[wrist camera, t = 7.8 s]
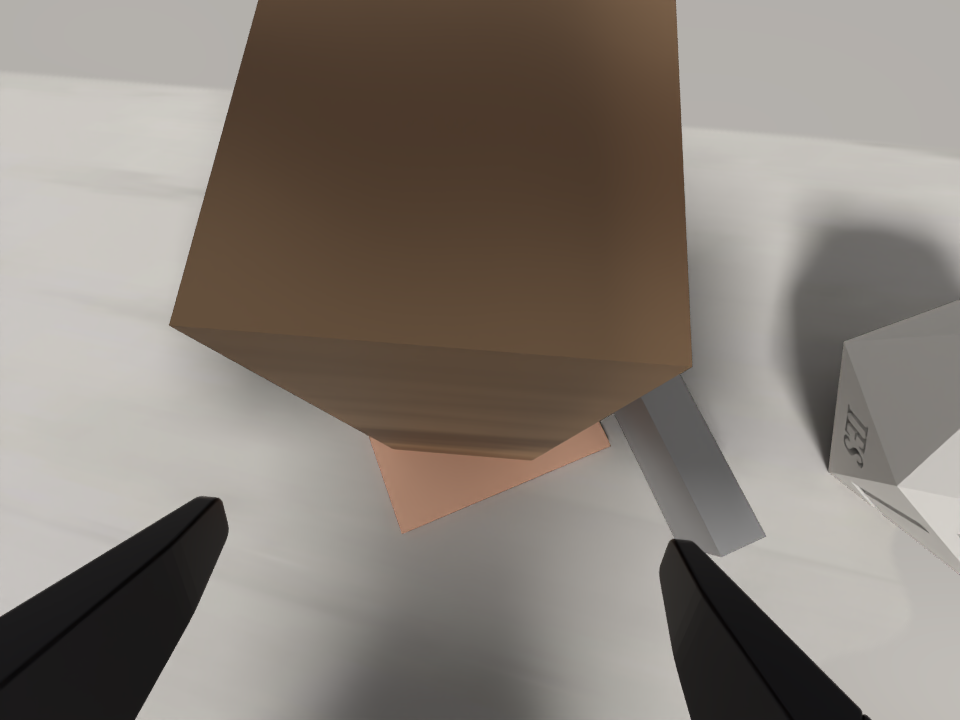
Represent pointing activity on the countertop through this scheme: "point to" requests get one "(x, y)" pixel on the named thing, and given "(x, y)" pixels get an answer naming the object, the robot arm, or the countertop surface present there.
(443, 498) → the pad
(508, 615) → the countertop surface
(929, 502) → the die
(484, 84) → the walnut block
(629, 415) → the corner bracket
